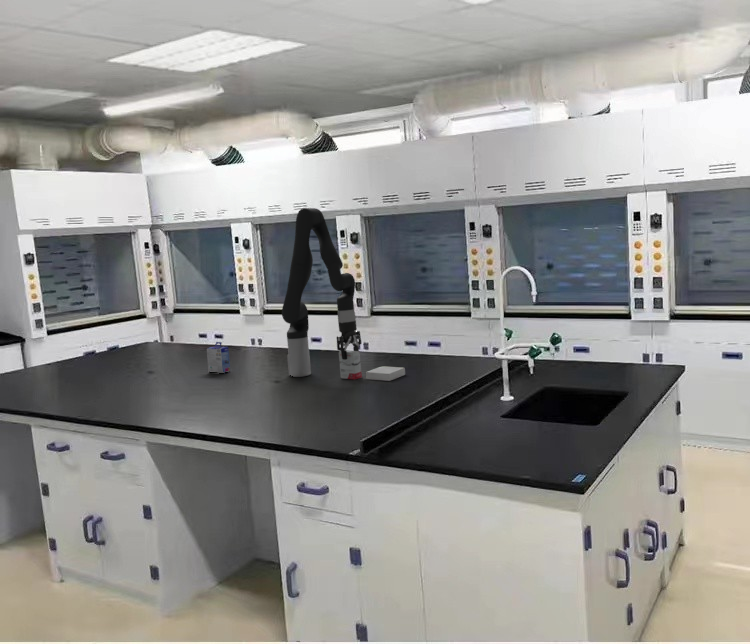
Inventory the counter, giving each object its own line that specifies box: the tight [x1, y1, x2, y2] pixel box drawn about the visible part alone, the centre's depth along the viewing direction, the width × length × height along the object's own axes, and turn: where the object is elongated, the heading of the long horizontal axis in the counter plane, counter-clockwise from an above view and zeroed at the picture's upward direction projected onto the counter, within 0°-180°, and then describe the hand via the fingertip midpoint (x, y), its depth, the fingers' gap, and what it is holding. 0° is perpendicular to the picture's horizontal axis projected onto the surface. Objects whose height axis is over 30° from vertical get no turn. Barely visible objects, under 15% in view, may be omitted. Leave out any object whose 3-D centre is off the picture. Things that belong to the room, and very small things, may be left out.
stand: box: [365, 365, 406, 382], centre depth 313 cm, size 12×12×3 cm
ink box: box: [338, 349, 363, 380], centre depth 316 cm, size 9×5×12 cm, turn 49°
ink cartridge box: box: [206, 341, 231, 372], centre depth 350 cm, size 10×6×14 cm, turn 58°
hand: (350, 357), depth 316 cm, fingers open, 8 cm apart
